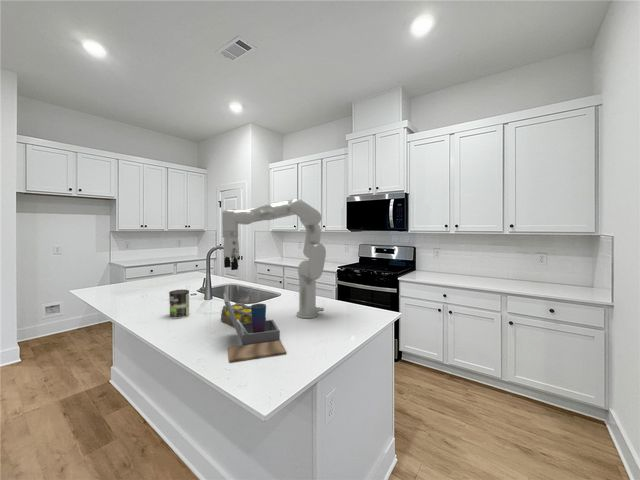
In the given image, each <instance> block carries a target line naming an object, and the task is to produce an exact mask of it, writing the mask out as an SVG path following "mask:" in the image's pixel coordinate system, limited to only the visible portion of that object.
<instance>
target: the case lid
mask: <svg viewBox="0 0 640 480" xmlns="http://www.w3.org/2000/svg"><path fill="white" fill-rule="evenodd" d="M223 302H224V306H225V305H226V307H227V310H228V312H229V315H230V317H231V319H232V322H233V324H234V327H233V328H234V329H235V332H236V334H237V336H238V337H240V335H241V332H240V327H239V324H238V322H237V321H236V320H237V318H236V316H235V313H234V311H233V309H232V306H231V305H232V304H231V301H230V299H229V296H228V295H227V292H224V293H223Z"/></svg>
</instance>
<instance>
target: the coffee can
mask: <svg viewBox="0 0 640 480" xmlns="http://www.w3.org/2000/svg"><path fill="white" fill-rule="evenodd" d="M168 294H169V299H168V300H169V318H170V319H175V320H176V319H178V318H179V319H184V318H187V317H189V316H190V290H188V289H175V290H171V291H169V292H168Z"/></svg>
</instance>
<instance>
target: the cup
mask: <svg viewBox="0 0 640 480" xmlns="http://www.w3.org/2000/svg"><path fill="white" fill-rule="evenodd" d="M250 306H251V312H252V326H253V333H258V332H266V331H265V318H266V319H267V317H266V314H267V303H254V304H251V305H250Z"/></svg>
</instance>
